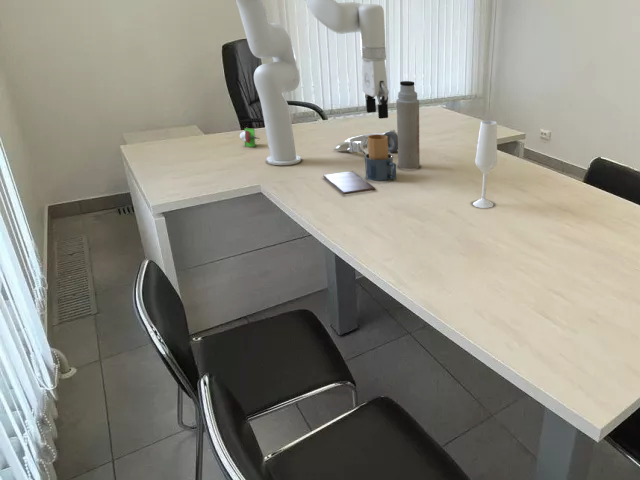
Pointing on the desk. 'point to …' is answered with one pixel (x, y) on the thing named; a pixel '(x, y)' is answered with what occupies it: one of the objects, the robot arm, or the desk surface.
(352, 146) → the headphones
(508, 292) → the desk surface
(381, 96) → the robot arm
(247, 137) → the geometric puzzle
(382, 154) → the paper cup
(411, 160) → the thermos bottle
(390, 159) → the mug
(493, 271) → the desk surface
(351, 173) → the serving board
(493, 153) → the champagne flute
